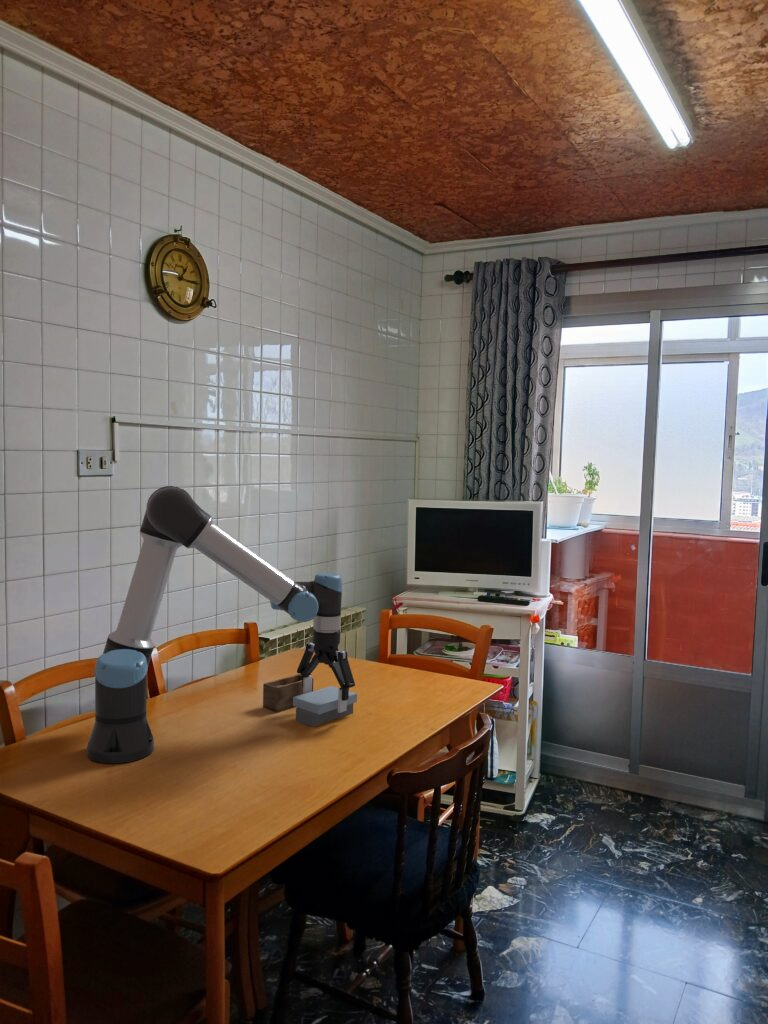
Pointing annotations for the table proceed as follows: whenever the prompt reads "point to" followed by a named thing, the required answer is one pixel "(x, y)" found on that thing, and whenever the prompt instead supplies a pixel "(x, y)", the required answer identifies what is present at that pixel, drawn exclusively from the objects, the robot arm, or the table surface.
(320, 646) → the robot arm
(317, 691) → the lid
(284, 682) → the box
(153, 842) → the table surface
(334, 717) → the block
